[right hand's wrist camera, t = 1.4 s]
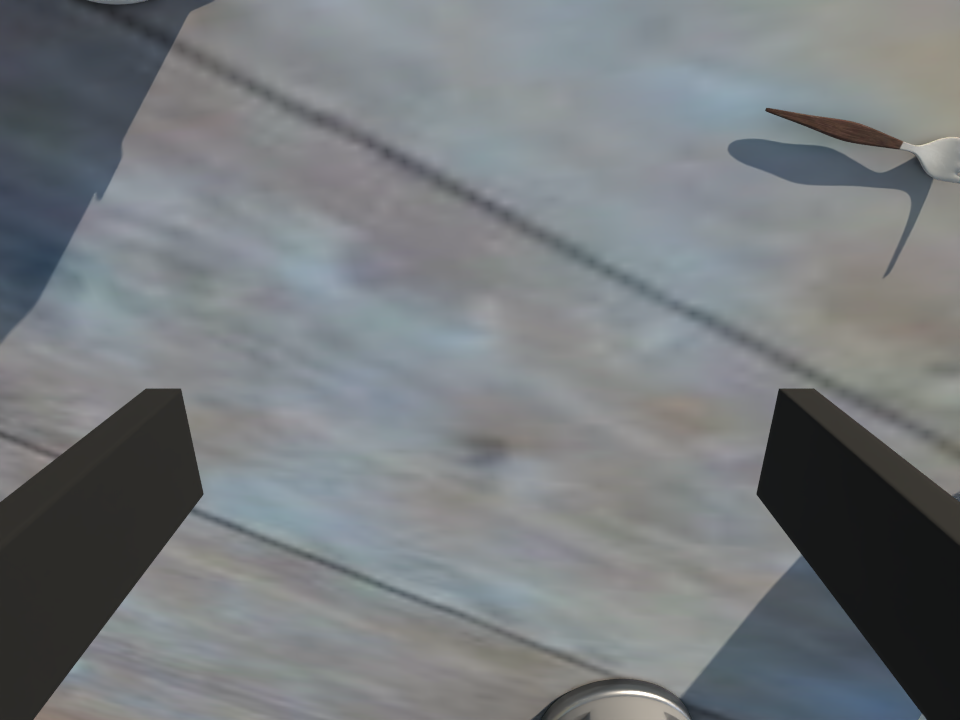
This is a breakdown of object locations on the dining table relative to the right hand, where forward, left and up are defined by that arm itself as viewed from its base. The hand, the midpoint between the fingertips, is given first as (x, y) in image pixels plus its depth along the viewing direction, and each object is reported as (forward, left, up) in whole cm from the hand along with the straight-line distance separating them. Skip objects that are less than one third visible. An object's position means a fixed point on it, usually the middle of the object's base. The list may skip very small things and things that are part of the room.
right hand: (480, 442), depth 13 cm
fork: (+6, -25, -28) cm, 38 cm away
